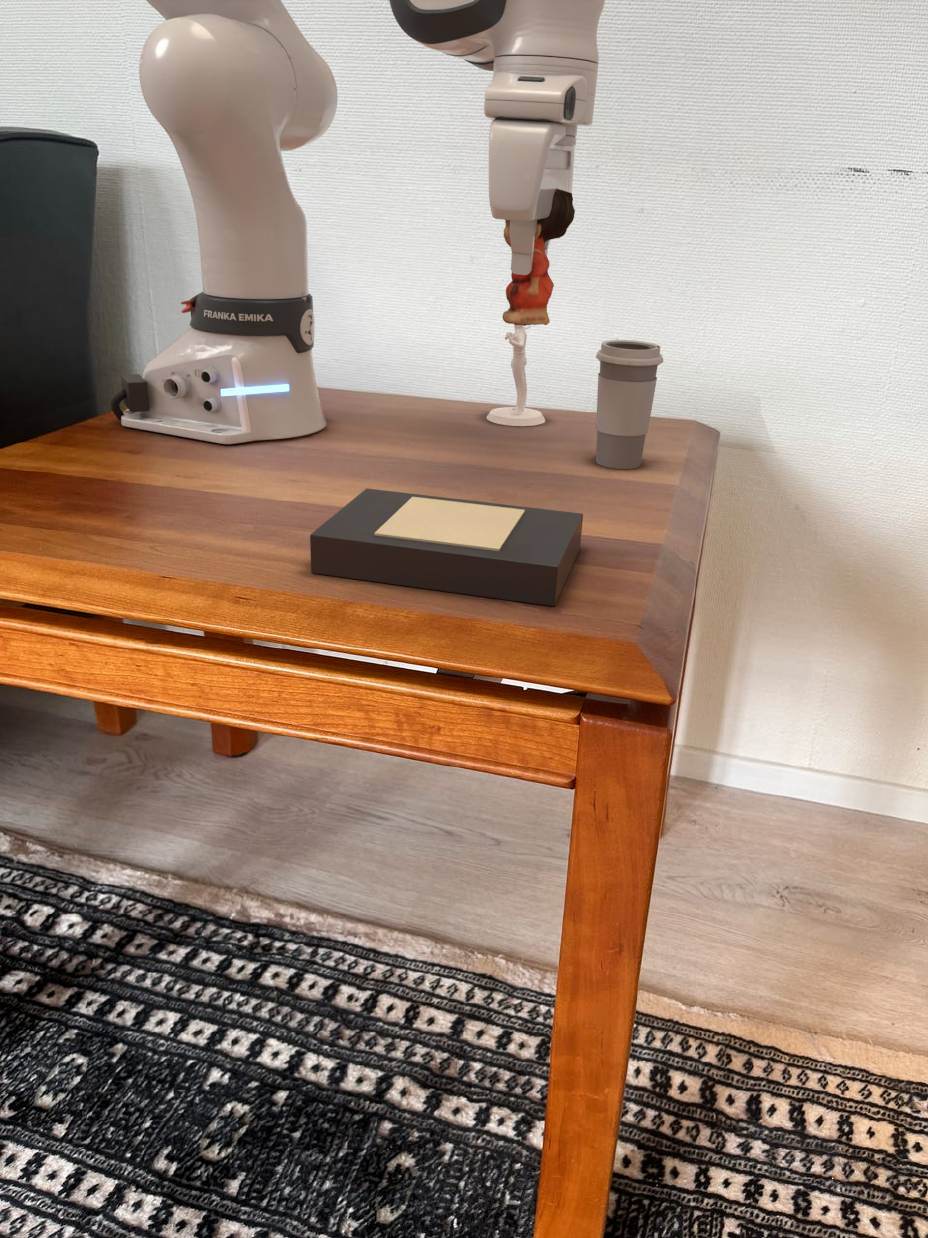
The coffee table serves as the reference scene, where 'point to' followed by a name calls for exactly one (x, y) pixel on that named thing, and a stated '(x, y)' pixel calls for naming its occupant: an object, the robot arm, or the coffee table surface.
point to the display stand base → (450, 545)
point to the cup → (625, 400)
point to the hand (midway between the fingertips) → (528, 270)
